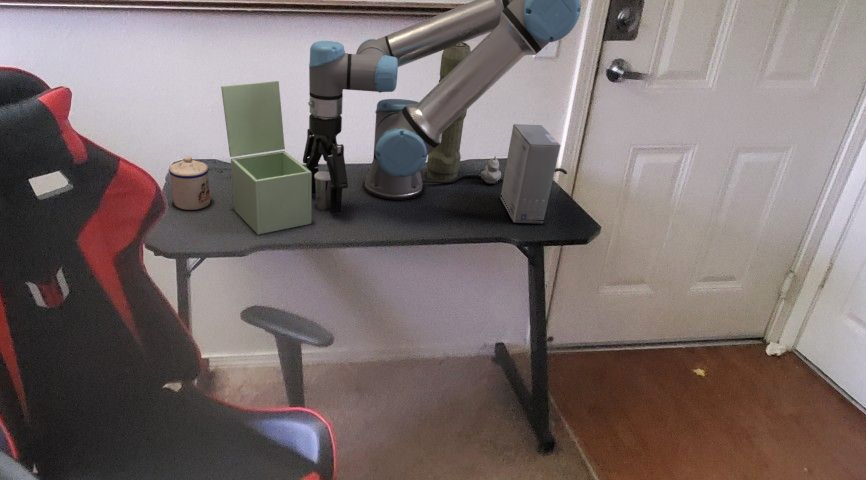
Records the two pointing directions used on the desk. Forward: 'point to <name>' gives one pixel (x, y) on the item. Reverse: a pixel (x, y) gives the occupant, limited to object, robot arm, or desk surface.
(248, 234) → the desk surface
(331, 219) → the desk surface
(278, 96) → the bin lid
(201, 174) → the teacup with lid
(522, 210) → the hard drive box
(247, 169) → the bin
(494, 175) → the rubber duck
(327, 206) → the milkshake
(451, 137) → the thermos
